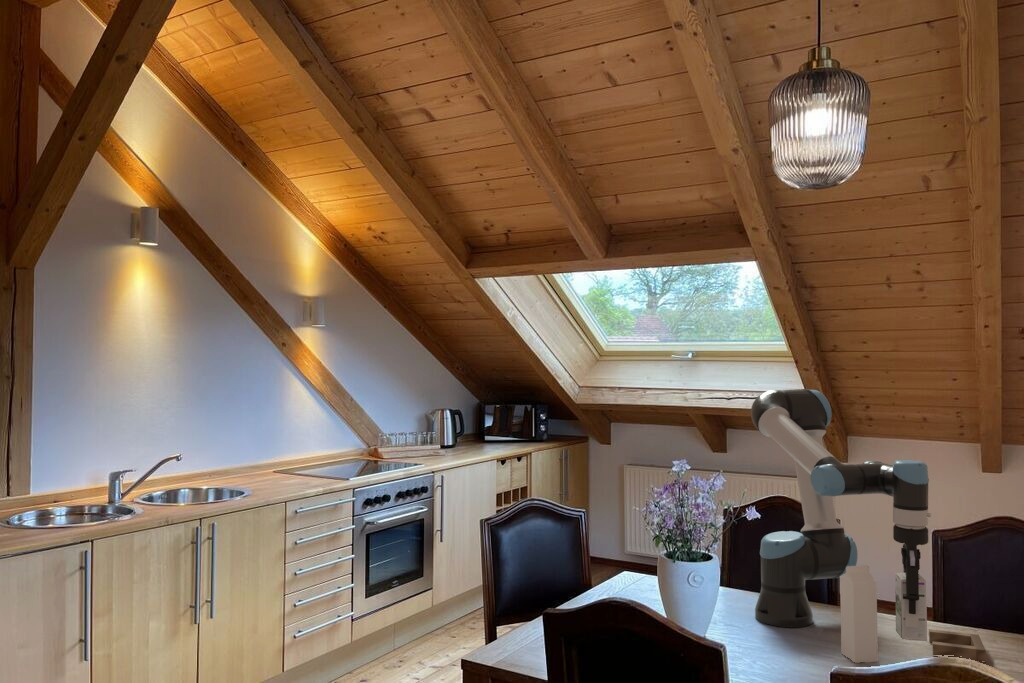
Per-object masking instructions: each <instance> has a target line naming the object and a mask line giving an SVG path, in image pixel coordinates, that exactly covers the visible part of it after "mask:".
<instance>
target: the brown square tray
mask: <svg viewBox="0 0 1024 683" xmlns="http://www.w3.org/2000/svg"><path fill="white" fill-rule="evenodd" d="M928 641H929V642H928V643H929V644H930V643H932V644H931V645H932V656H933V655H942V656H944V655H954V656H948V657H959V658H966V659H969V658H970V659H971V660H975V661H979V662H978V663H980V662H982V661H985V662H986V663H987V650H986V648H985V645H984V643H983V642H982V641H983V640H982V639H981V636H980V635H979V634H977V633H974V634H973V633H967V632H958V631H948V630H940V629H939V630H938V629H931V628H929V629H928ZM960 656H962V657H960ZM933 658H939V657H938V656H933ZM981 664H985V663H984V662H982V663H981Z"/></svg>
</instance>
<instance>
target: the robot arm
mask: <svg viewBox="0 0 1024 683" xmlns="http://www.w3.org/2000/svg"><path fill="white" fill-rule="evenodd" d="M832 414H833V413H832V408H831V404H830V402H829V400H828V398H827V397H826V396H825V395H824V393H822V392H821V391H819V390H816V389H807V388H801V389H796V388H795V389H771V390H770V389H769V390H766V391H764V392H762V393H761V394H759V395H758V396H757V397H756V398H755V399H754V401H753V402H752V405H751V408H750V417H751V421H752V424H753V425H754V427H755V428H756V429H757V431H759V433H761V435H763V436H765V437H767V438H771V439H772V440H773V441H774V442H775V443H776V444H778V445H779V447H781V448H782V450H784V451H785V452H786V453H787V454H788V456H790V457H791V458H793V461H794V462H793V463H794V467H795V473H796V477H797V478H796V480H797V485H798V491H799V496H800V503H801V508H802V515H803V520H804V525H803V527H802V528H801V529H800V532H799V531H793V530H789V531H788V530H787V531H785V530H782V531H775V532H770V533H768V534H765V535H764V536H763V537H762V539H761V540H760V550H759V555H760V582H761V583H760V585H761V587H760V591H759V594H758V598H757V602H756V604H755V608H754V611H755V612H754V613H755V614H754V616H755V618H756V620H757V621H759V622H761V623H764V624H767V625H769V626H770V625H771V626H774V627H781V628H803V627H808V626H810V625H812V624H813V622H814V620H813V618H814V617H813V611H812V607H811V605H810V601H809V600H808V596H807V593H806V581H808V580H823V579H838V578H840V576H842V575H843V574H845V573H846V567H847V566H857V563H858V556H859V555H858V547H857V545H856V541H854V539H853V537H852V536H851V535H848V534H847V533H845V528H844V526H843V525H842V524H840V523H839V521H837V516H836V511H835V510H836V509H835V505H834V500H833V497H839V496H841V497H842V496H854V495H875V494H876V495H877V494H878V495H879V494H880V495H881V494H882V495H886V496H890V497H892V498H893V499H892V500H893V502H892V521H893V523H894V525H893V527H892V529H893V530H892V531H893V532H892V535H893V536H892V537H893V540H894V541H895V542H897V543H899V544H902V547H900V548H901V549H900V551H901V552H900V553H901V560H902V561H901V562H902V565H903V566H902V567H903V573H906V596H903V599H905V625H906V626H907V627H915V628H918V600H919V575H920V573H919V571H920V568H921V567H920V559H921V551H920V549H918V546H924V545H927V544H928V543H929V528H928V527H927V526H928V525H929V518H931V517H932V513H930V512H929V482H930V479H929V470H928V465H927V463H925V461H921V460H914V459H896V460H894V462H893V464H892V465H891V464H888V463H884V462H882V461H873V460H867V461H865V462H862V463H853V464H852V463H851V464H850V463H849V464H846V463H845V464H844V463H842V462H841V461H840V460H839V459H837V458H836V457H835V456H834V455H833V454H832V453H831V452H830V451H829V450H827V449H826V448H825V447H824V444H823V437H824V436H825V434H826V433H827V427H828V426H829V425H831V424H830V423H831V421H832V419H831V418H832Z"/></svg>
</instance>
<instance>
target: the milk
mask: <svg viewBox="0 0 1024 683" xmlns="http://www.w3.org/2000/svg"><path fill="white" fill-rule="evenodd" d="M839 592H840V596H839V597H840V640H841V642H840V644H841V648H840V649H841V650H840V651H841V655H842V654H843V655H842V656H844V655H845V656H846V657H845V656H844V657H845V658H847V657H848V658H850V659H851V660H852V661H851V660H850V659H849V660H850V661H851V662H853V663H854V662H855V663H854V664H860V662H865V663H878V662H879V648H878V647H879V646H878V643H879V642H878V638H879V637H878V602H877V601H878V598H877V596H878V594H877V593H878V592H877V581H876V580H875V577H874V576H873V575H872V573H871V572H870V566H869V565H867V564H866V565H856V566H847V567H846V573H845V574H843V575H842V576H840V577H839ZM848 658H847V659H848Z"/></svg>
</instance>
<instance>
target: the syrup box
mask: <svg viewBox="0 0 1024 683" xmlns="http://www.w3.org/2000/svg"><path fill="white" fill-rule="evenodd" d="M894 575H895V576H894V578H895V579H894V584H895V585H894V586H895V588H894V589H895V593H894V594H895V631H896V633H897V634H898V636H899V637H900V638H901V639H902V640H905V641H908V640H909V641H916V642H917V641H918V642H928V613H927V606H928V605H927V580H926V579H925V578H924V577H923V576H921V575H920V574H919V600H918V628H915V627H907V626H906V625H905V599H903V596H906V573H904V572H895V573H894Z"/></svg>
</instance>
